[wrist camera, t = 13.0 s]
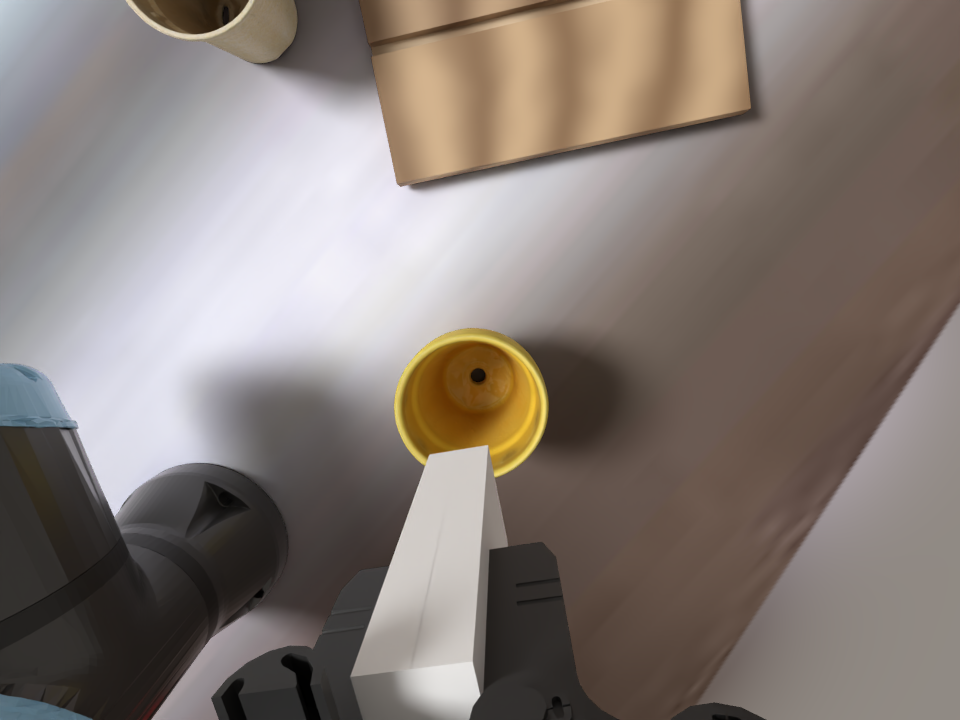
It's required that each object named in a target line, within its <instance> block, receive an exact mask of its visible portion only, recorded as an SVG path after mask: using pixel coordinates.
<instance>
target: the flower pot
mask: <svg viewBox="0 0 960 720" xmlns="http://www.w3.org/2000/svg"><path fill="white" fill-rule="evenodd" d="M126 1H127V3H128V4H129V6H130V7H131V8H132V9H133V10H134V11H135V13H136V14H137V15H138V16H139V17H140V18H141V19H143V20H144V21H145V22H146V23H147V24H149V25H150V26H152V27H153V28H155V29H156V30H158V31H160V32H162V33H164V34H166V35H168V36H171V37H174V38H177V39H181V40H185V41H203V42H207V43H209V44H211V45H213V46H216V47H218V48H220V49H222V50H224V51H227V52H229V53H231V54H233V55H235V56H237V57H239V58H241V59H243V60H245V61H248V62H253V63H266V62H270V61H273V60H275V59H277V58H279V56H280V55H281V54H282V53H283V52H284V51H285V50H286V49H287V48H288V47H289V46H290V45H291V43H292V42H293V40H294V37H295V34H296V29H297V10H296V6H295V2H294V0H126ZM225 6H226V7H228V10H229V23H228V24H227V25H225V24H224V23H223V9H224V7H225Z"/></svg>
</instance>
